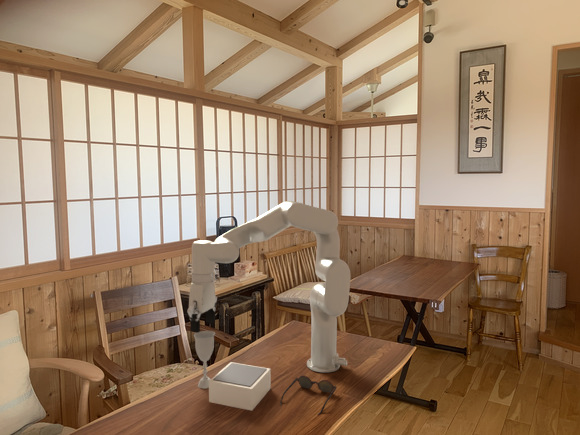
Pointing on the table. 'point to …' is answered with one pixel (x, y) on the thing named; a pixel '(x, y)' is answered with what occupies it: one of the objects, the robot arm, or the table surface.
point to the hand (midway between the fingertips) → (203, 327)
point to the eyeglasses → (307, 383)
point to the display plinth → (240, 386)
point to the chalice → (204, 353)
